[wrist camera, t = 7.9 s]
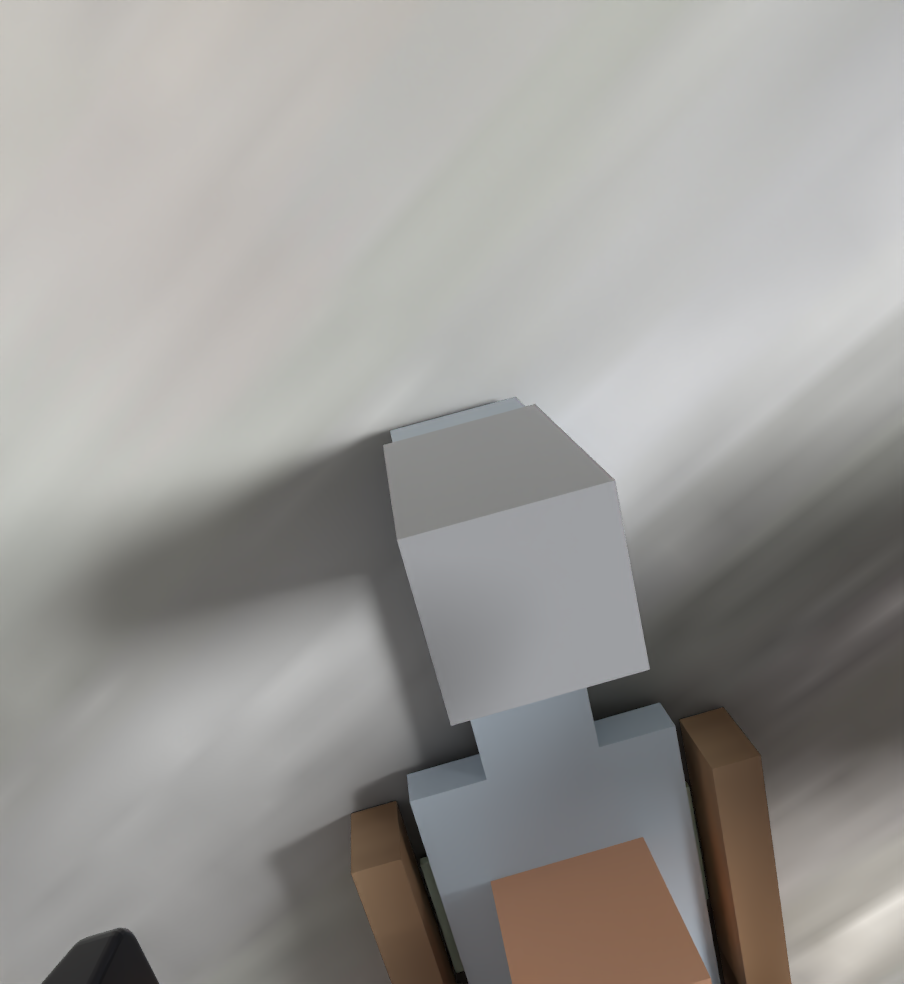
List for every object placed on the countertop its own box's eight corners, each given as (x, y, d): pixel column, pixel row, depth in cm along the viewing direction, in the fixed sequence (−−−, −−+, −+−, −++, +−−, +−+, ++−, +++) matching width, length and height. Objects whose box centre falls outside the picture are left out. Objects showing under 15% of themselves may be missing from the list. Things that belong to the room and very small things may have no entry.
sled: (600, 373, 17) (728, 448, 11) (710, 983, 23) (830, 1234, 18) (303, 453, 17) (279, 572, 11) (494, 1047, 23) (543, 1324, 17)
